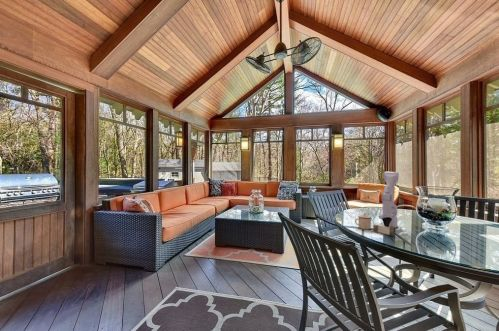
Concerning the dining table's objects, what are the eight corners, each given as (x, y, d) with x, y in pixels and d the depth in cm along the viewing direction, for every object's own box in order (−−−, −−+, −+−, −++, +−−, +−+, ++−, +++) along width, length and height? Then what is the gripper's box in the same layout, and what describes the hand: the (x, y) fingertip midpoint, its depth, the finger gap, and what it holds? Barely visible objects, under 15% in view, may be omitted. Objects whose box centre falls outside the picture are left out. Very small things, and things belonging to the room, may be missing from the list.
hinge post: (391, 235, 169) (391, 225, 168) (394, 236, 167) (394, 226, 167) (389, 235, 168) (389, 226, 168) (392, 236, 166) (392, 226, 166)
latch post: (374, 230, 178) (374, 224, 178) (377, 231, 176) (377, 225, 176) (373, 231, 178) (373, 224, 177) (376, 232, 175) (376, 225, 175)
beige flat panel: (390, 234, 169) (390, 227, 169) (389, 234, 168) (389, 228, 168) (375, 229, 179) (375, 223, 179) (373, 229, 179) (374, 223, 178)
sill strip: (375, 230, 179) (375, 230, 179) (389, 234, 169) (389, 234, 169) (374, 230, 178) (374, 230, 178) (388, 235, 168) (388, 234, 168)
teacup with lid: (367, 226, 191) (367, 211, 190) (373, 229, 181) (373, 214, 181) (352, 226, 191) (352, 211, 190) (357, 229, 182) (357, 214, 181)
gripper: (388, 207, 183) (388, 225, 183) (375, 208, 177) (374, 227, 177) (397, 209, 176) (396, 227, 176) (383, 210, 170) (383, 229, 171)
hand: (386, 227), depth 176 cm, fingers closed
